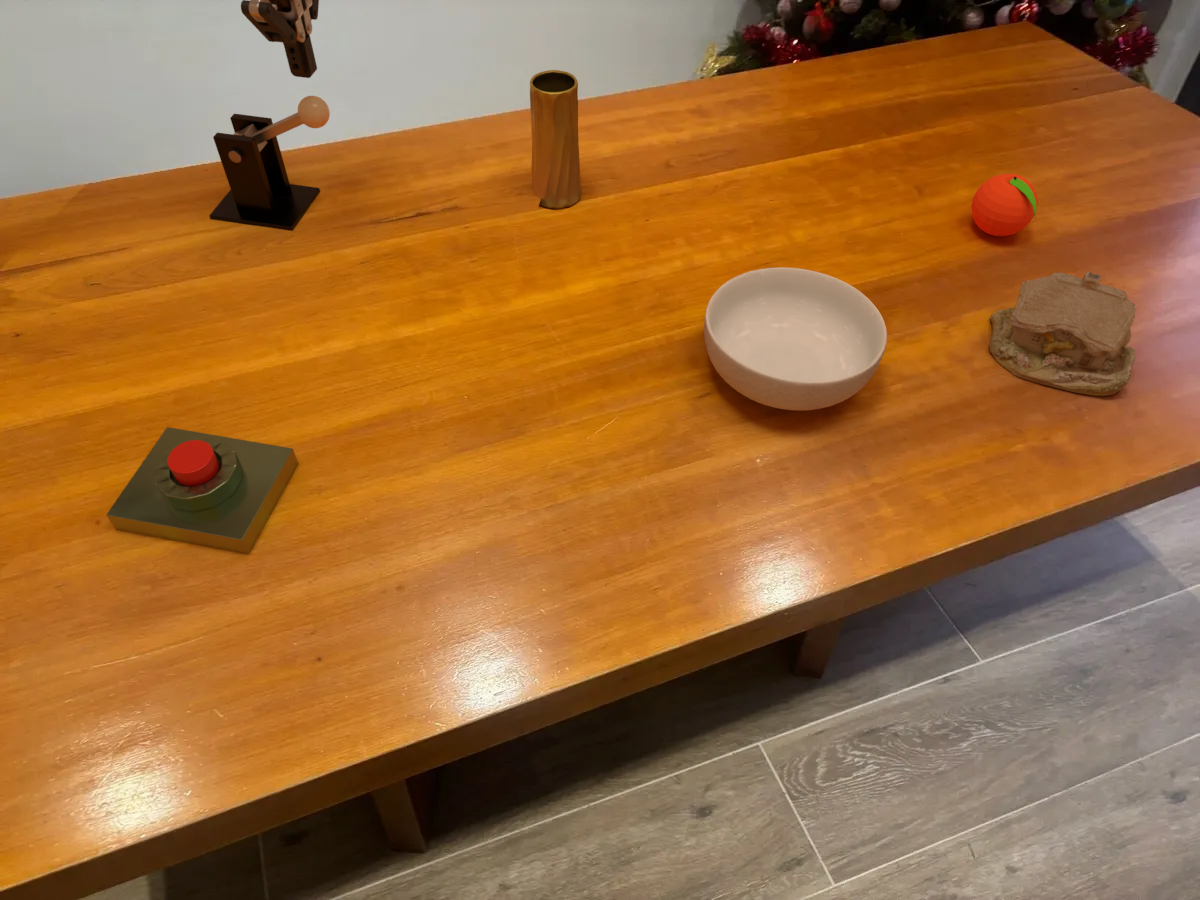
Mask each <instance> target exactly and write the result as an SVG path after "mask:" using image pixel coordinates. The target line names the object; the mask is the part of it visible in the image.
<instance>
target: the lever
mask: <svg viewBox="0 0 1200 900" xmlns="http://www.w3.org/2000/svg"><path fill="white" fill-rule="evenodd" d="M330 114H331V111H330V108H329V105H328V104H327V102H326V101H325V100H324V99H323V98H322V97H320V96H317V95H307V96H305V97H303V98H302V99H301V100H300V101H299V103H298V105H297V112H296V113H293V114H291V115H288V116H286V117H285V118H282V119H280V120H278V121H276V122H274V123H273V124H271V125H269V126H267V127H265V128H263V129H261V130H257V128H256V127H255V126H254V125H253V124H252V125H249V126H247V127H245V128H243V129H241V130H239V131H237V132H234V133H233V135H240V136H248V137H255V138H256V142H257V145H258V149H259V152H260V151H261V150H262V149H263V148H264V146H265V145H266V144H267V140H269V139H271V138H273V137H275V136H276V137H278V136H281V135H282V134H284V133H287V132H289V131H290V130H293V129H295V128H298V127H299V126H302V125H304V126H306V127H308V128H311V129H320V128H323V127H324V126H325V125H326V124H327V123H328V122H329V120H330V116H331V115H330Z"/></svg>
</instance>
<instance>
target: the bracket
mask: <svg viewBox="0 0 1200 900" xmlns="http://www.w3.org/2000/svg"><path fill="white" fill-rule="evenodd" d="M229 119H230V123H231V125H232V129H233V132H234V133H235V132H237V131H239V130H241V129H243V128H245V127H247V126H249V125H252V124H253V125H254V126H255V127H256V128H257V130H261V129H263V128H265V127H267V126H269V125H271V124H274V123H273V119H272V118H271V117H264V116H257V115H250V114H249V115H248V114H242V113H241V114H240V113H233V114H232V115H231V117H230V118H229ZM234 133H233V134H234ZM233 134H232V133H224V132H216V133H215V135H213V137H212V138H213V141H214V144H215V147H216V150H217V153H218V156H219V159H220V162H221V164H222V168H223V171H224V174H225V177H226V180H227V183H228V185H229V188H230V190H229V191H227V193H226V195H225V196H224V197H223V198H221V200H220V202H219V203H218V204H217V205H216V206H215V208H214V209H213V210H212V212H210V214H209V216H208V217H209V219H210V220H214V221H220V222H227V223H234V224H241V225H247V226H255V227H262V228H269V229H276V230H283V231H290V232H291V231H292V232H293V231H294V230H295V229H296V227H297V225H298V224H299V223H300V221H301V220H302V218H303V217H304V216H305V214H306V213H307V211H308V210H309V208H310V207H311V205H312V204H313V203H314V202H315V200H316V199H317V198H318V196H319V194H320V193H321V188H320V187H317V186H308V185H302V184H294V183H290V180H289V177H288V173H287V169H286V166H285V163H284V157H283V156H282V151H281V148H280V143H279V141H278V136H275V137H273V138H271V139H269V140H267V144H266V145H265V146H264V148H263V149H262V150H261V151H260V152H259V149H258V145H257V142H256V138H255V137H248V136H240V135H233Z"/></svg>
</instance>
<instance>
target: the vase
mask: <svg viewBox="0 0 1200 900" xmlns="http://www.w3.org/2000/svg"><path fill="white" fill-rule="evenodd" d="M578 90H579V82H578V79H577V77H576V76H575V75H574V74H572V73H570V72H568V71H565V70H559V69H548V70H543V71H540V72H538V73H535V74H534V75H532V77H531V78H530V80H529V106H530V122H531V123H530V125H531V126H530V127H531V191H532V192H533V194H534V196H535V197H537V198H539V199H540V201H539V203H538V205H539V206H541V207H544V208H548V209H563V208H568V207H571V206H574V205H575V204H576V203H578V201H579V200H580V199H581V197H582V193H583V192H582V187H581V168H580V166H581V165H580V148H579V147H580V146H579V145H580V144H579V143H580V142H579V95H578V94H579V93H578V92H579V91H578Z"/></svg>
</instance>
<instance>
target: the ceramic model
mask: <svg viewBox="0 0 1200 900" xmlns="http://www.w3.org/2000/svg"><path fill="white" fill-rule="evenodd" d="M1101 279H1102V275H1101V274H1099V273H1092V272H1091V271H1086V272H1085V274H1084V276H1083V277H1082V278H1081V277H1077V276H1075V275H1072V274H1068V273H1066V272H1053V273H1052V274H1050V275H1047V276H1043V277H1039V278H1034V279H1030V280H1029V279H1026V280H1025V281H1023V282H1022V283H1021V285H1020V287H1019V291H1018V292H1019V293H1018V297H1017V299H1016V302H1015V305H1014V307H1008V308H1005V309H1003V308H1002V309H997V310H996V311H994V313H992V314H991V315H990V317H989V319H990V322H991V325H992V328H991V329H992V330H991V338H990V340H989V353H990V354H991V355H992V357H993V359H994V360H995V361H996V362H997V363H998V364H999V365H1000V366H1002V367H1003V368H1004V369H1005V370H1007V371H1008V372H1009V373H1011V374H1012V375H1013V376H1016V377H1018V379H1022V380H1026V381H1030V382H1032V383H1037V384H1040V385H1044V386H1047V387H1051V388H1055V389H1059V390H1061V391H1067V392H1072V393H1077V394H1082V395H1088V396H1095V397H1096V396H1097V397H1098V396H1099V397H1100V396H1102V397H1103V396H1112V395H1114V394H1116V393H1118V392H1119V391H1120V390H1121V389H1123V388H1125V386H1126V385H1127V384H1128V383H1129V382H1130V380H1131V376H1132V374H1131V370H1132V367H1133V366H1134V364H1135V361H1136V354H1135V352H1136V349H1135V348H1133V347H1131V346H1128V344H1129V343H1130V341H1131V338H1132V329H1131V327H1132V325H1133V323H1134V321H1135V318H1136V310H1137V309H1136V303H1134V302H1133V301H1132V300H1131V299H1130V298H1129V297H1128V295H1127V292H1126V291H1124V290H1122V289H1120V288H1117V287H1114V286H1109V285H1107V284H1104V283H1100V281H1101Z"/></svg>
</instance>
